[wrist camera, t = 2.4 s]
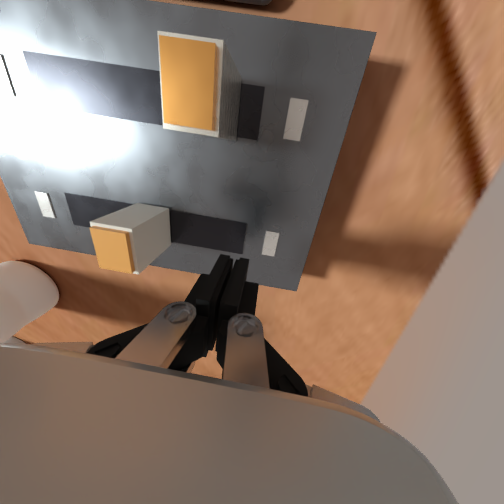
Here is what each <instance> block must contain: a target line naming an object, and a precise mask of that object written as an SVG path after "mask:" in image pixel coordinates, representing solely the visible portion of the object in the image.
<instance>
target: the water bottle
mask: <svg viewBox="0 0 504 504" xmlns="http://www.w3.org/2000/svg"><path fill="white" fill-rule="evenodd" d="M58 300H59V291H58V288H57V286H56V284H55V283H54V281H53V280H52V279H51V278H50V277H49V276H48V275H47V274H46V273H45V272H43V271H42V270H41V269H39V268H37V267H35V266H33V265H31V264H28V263H25V262H20V261H6V262H3V263H0V343H3V342H5V341H6V340H8V339H9V338H11V337H12V336H13V335H14V334H16V333H17V332H18V331H19V330H20V329H21V328H22V327H24V326H25V325H26V324H28V323H30V322H32V321H34V320H35V319H37V318H39V317H40V316H42V315H43V314H45V313H46V312H48V311H49V310H50V309H52V308H53V307H54V306H55V305H56V304H57V302H58Z"/></svg>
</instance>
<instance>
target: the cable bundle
mask: <svg viewBox="0 0 504 504" xmlns="http://www.w3.org/2000/svg"><path fill="white" fill-rule="evenodd" d="M226 1H234V2H241V3H248V4H255V5H267V4H269V3H270V2H271V1H272V0H226Z"/></svg>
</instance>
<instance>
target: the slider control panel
mask: <svg viewBox="0 0 504 504" xmlns="http://www.w3.org/2000/svg"><path fill="white" fill-rule="evenodd" d="M376 33H377V32H370V31H363V30H356V29H349V28H342V27H335V26H327V25H320V24H313V23H306V22H299V21H292V20H285V19H277V18H270V17H263V16H256V15H249V14H242V13H234V12H227V11H220V10H213V9H206V8H199V7H192V6H184V5H177V4H170V3H163V2H156V1H149V0H0V176H1V178H2V181H3V183H4V185H5V188H6V190H7V192H8V195H9V197H10V199H11V202H12V204H13V207H14V209H15V211H16V214H17V216H18V218H19V221H20V223H21V225H22V228H23V230H24V232H25V235H26V237H27V240H28V242H29V243H30V244H35V245H41V246H46V247H52V248H57V249H63V250H69V251H74V252H80V253H85V254H91V255H96V251H95V248H94V244H93V240H92V236H91V232H90V227H91V226H90V221H93V220H95V219H98V218H100V217H103V216H105V215H108V214H110V213H113V212H116V211H118V210H121V209H123V208H126V207H128V206H131V205H133V204H136V203H141V204H147V205H152V206H158V207H164V208H169V217H170V235H171V245H170V246H169V247H168V248H167V249H166V250H165V251H164V252H163V253H161V254H160V255H159V256H158V257H157V258H156V259H155V260H154V261H153V262H152V263H151V264H149V265H152V266H158V267H163V268H169V269H175V270H180V271H186V272H191V273H197V274H202V273H204V274H210V272H211V270H212V269H213V267H214V265H215V263H216V261H217V259H218V258H219V256H220V254H224V255H230V258H232V259H233V266H234V263H235V261H236V259H238V260H239V259H240V257H241V258H247V259H249V266H248V272H247V279H246V281H248V282H254V283H259V285H264V286H270V287H275V288H281V289H286V290H292V291H297V288H298V285H299V281H300V278H301V275H302V272H303V268H304V265H305V262H306V259H307V256H308V252H309V249H310V246H311V243H312V239H313V236H314V233H315V230H316V226H317V223H318V220H319V217H320V214H321V210H322V207H323V204H324V201H325V197H326V194H327V191H328V188H329V184H330V181H331V178H332V175H333V172H334V168H335V165H336V162H337V159H338V155H339V152H340V149H341V146H342V142H343V139H344V136H345V133H346V130H347V126H348V123H349V120H350V117H351V113H352V110H353V107H354V104H355V100H356V97H357V94H358V91H359V88H360V84H361V81H362V78H363V75H364V71H365V68H366V65H367V62H368V58H369V55H370V52H371V49H372V46H373V42H374V39H375V36H376ZM96 256H97V255H96ZM232 269H233V268H232Z"/></svg>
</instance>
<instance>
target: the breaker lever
mask: <svg viewBox="0 0 504 504" xmlns="http://www.w3.org/2000/svg"><path fill="white" fill-rule="evenodd" d="M90 226H91V227H90V232H91V236H92V240H93V244H94V248H95V251H96V255H97V259H98V263H99V267H100V268H103V269H108V270H114V271H119V272H125V273H130V274H132V273H134V274H140V273H141V272H142V271H143V270H144V269H145V268H146V267H147V266H148V265H149V264H151V263H152V262H153V261H154V260H155V259H156V258H157V257H158V256H159V255H160V254H161V253H163V252H164V251H165V250H166V249H167V248H168V247H169V246H170V245H171V235H170V217H169V208H164V207H158V206H152V205H147V204H141V203H136V204H133V205H131V206H128V207H126V208H123V209H121V210H118V211H116V212H113V213H110V214H108V215H105V216H103V217H100V218H98V219H95V220H93V221H90Z"/></svg>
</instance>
